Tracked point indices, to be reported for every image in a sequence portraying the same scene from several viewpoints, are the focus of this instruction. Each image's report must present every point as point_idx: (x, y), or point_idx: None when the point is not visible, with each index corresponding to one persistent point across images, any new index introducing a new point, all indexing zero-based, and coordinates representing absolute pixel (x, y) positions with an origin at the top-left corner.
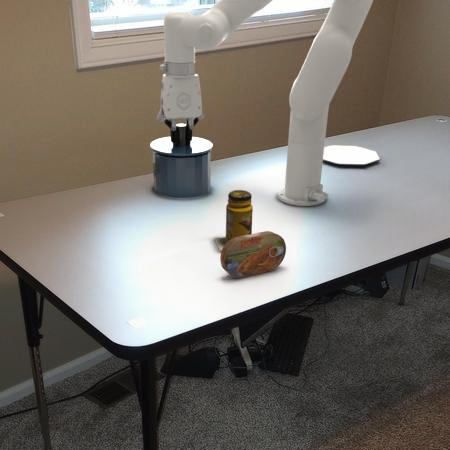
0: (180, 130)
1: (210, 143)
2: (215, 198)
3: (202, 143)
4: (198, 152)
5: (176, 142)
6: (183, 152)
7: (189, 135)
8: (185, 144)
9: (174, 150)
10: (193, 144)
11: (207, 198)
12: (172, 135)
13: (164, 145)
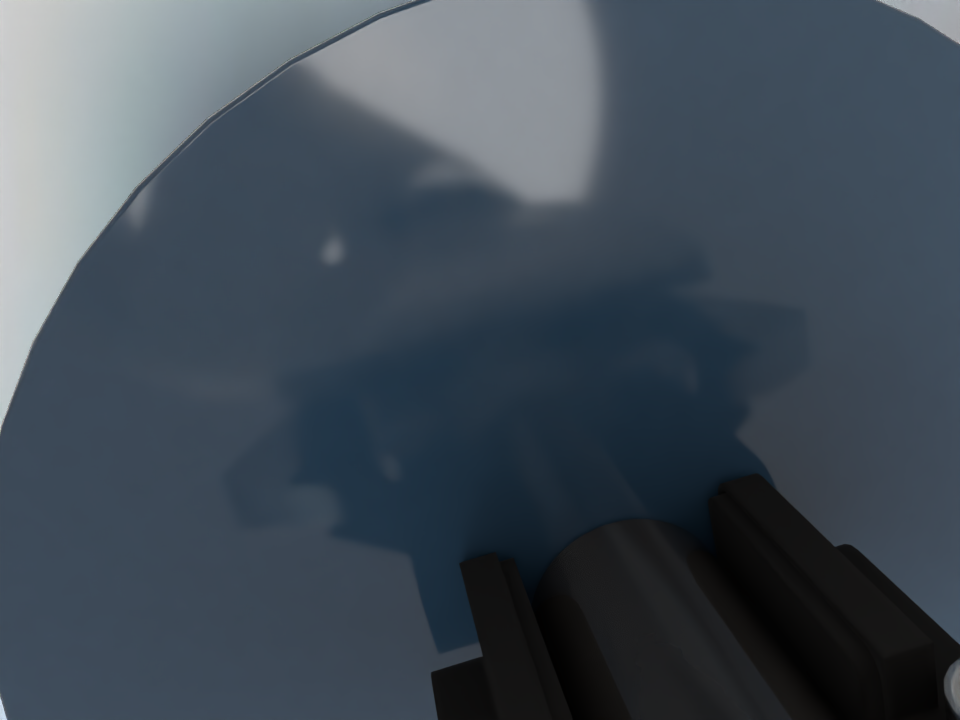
0: (792, 715)
1: (38, 703)
2: (119, 55)
3: (211, 696)
4: (315, 52)
5: (776, 501)
6: (660, 59)
7: (519, 666)
8: (563, 563)
9: (819, 222)
10: (397, 622)
11: (218, 62)
12: (922, 612)
13: (931, 541)
